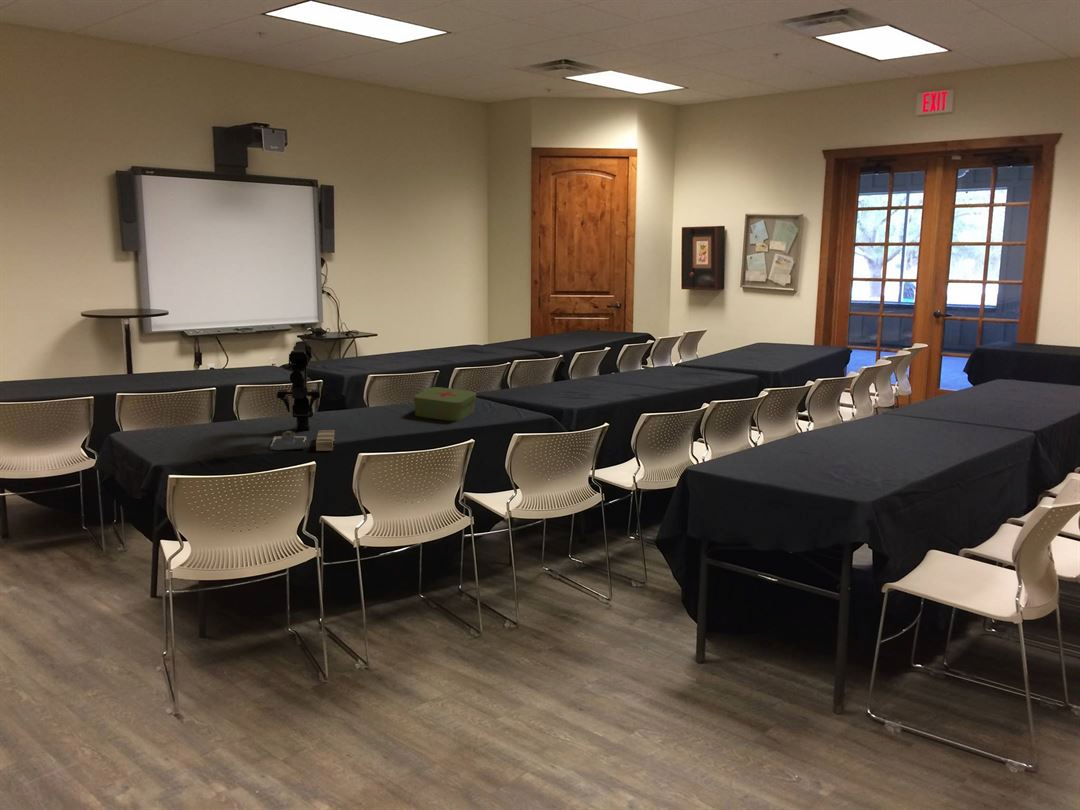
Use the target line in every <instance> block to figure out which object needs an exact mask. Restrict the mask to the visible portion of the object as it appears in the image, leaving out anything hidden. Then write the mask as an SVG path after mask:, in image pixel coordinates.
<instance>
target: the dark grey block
mask: <svg viewBox="0 0 1080 810" xmlns="http://www.w3.org/2000/svg"><path fill="white" fill-rule="evenodd" d="M281 436H282V444H294V442H295V436H296V432H295V431H292V430H286V431H283V432H282V434H281Z"/></svg>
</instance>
